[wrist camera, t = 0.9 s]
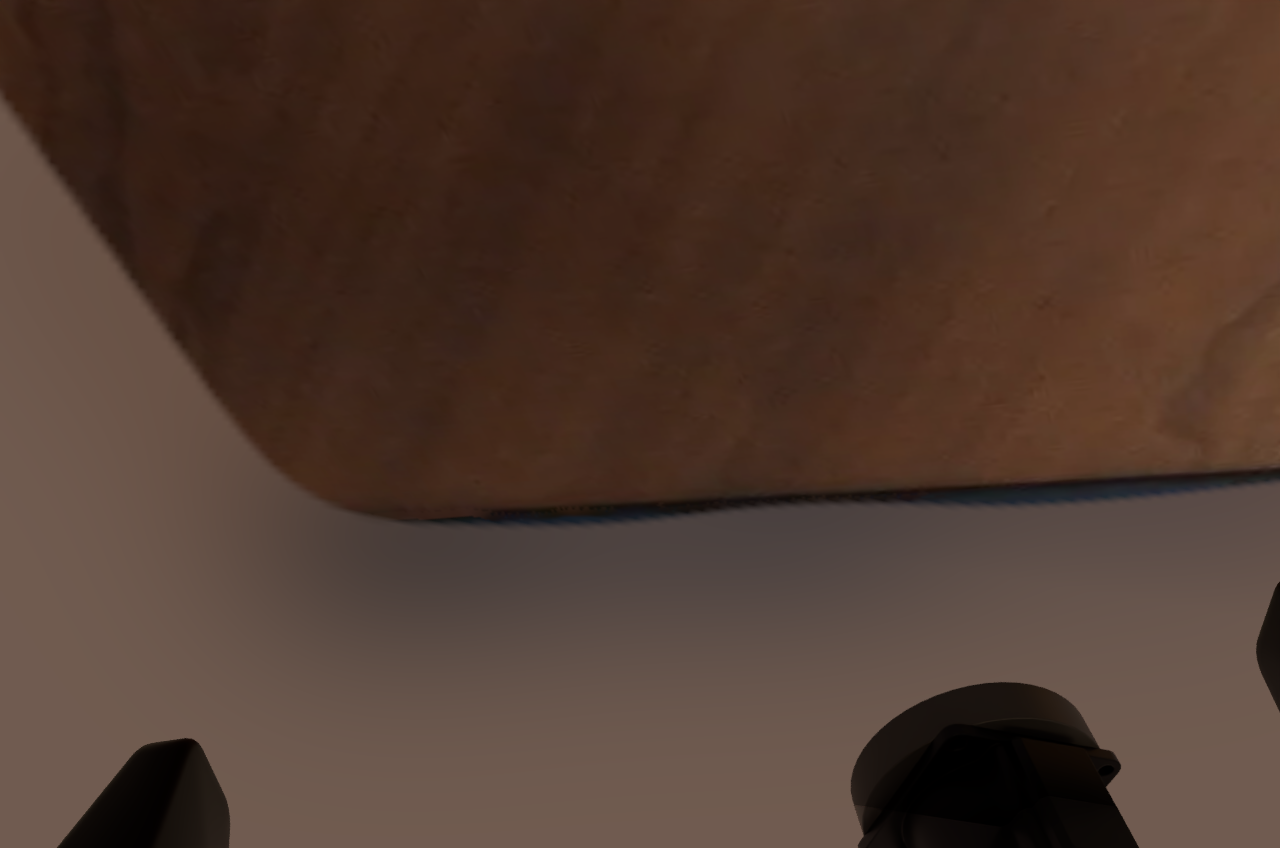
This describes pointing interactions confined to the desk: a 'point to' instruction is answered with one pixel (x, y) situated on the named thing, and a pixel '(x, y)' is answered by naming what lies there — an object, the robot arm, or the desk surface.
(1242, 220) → the desk surface
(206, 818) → the robot arm
